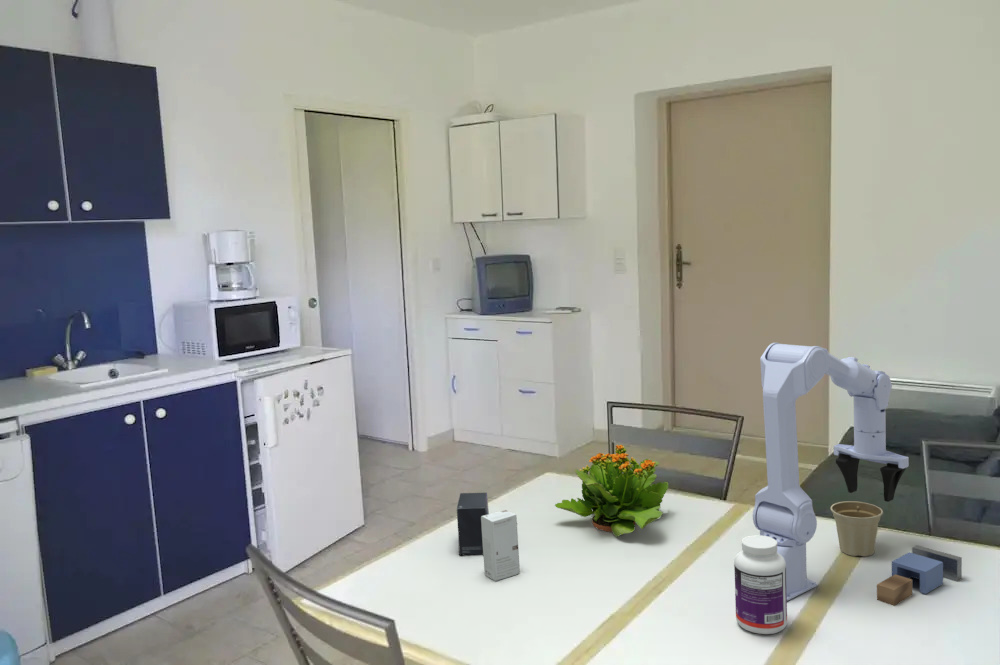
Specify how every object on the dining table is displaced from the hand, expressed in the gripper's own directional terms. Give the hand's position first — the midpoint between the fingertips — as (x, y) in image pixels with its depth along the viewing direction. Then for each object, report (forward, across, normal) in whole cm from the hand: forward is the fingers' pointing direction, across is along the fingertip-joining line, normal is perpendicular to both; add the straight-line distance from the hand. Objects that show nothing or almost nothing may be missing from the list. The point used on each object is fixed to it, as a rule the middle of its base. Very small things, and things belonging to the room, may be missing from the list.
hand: (870, 495), depth 158 cm
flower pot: (+10, 0, +5) cm, 11 cm away
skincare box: (+10, +40, +63) cm, 75 cm away
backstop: (+10, -15, +4) cm, 19 cm away
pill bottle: (+10, -6, +43) cm, 45 cm away
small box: (+10, +56, +59) cm, 82 cm away
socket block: (+10, -15, +11) cm, 21 cm away
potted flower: (+10, +45, +29) cm, 55 cm away
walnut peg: (+10, -15, +18) cm, 26 cm away
